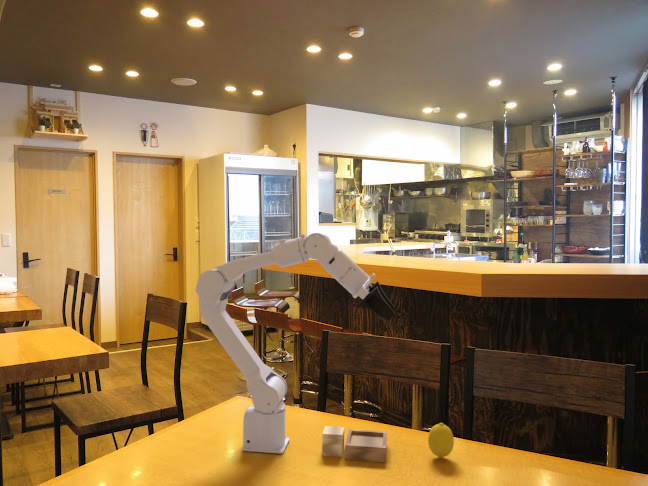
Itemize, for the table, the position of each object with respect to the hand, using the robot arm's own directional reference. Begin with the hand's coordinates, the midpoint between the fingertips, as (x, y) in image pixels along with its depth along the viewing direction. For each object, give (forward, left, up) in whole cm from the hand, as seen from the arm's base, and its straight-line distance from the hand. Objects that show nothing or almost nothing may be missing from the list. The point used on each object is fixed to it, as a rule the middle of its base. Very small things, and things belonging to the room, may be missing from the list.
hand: (391, 314), depth 117 cm
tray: (-5, +1, -32) cm, 32 cm away
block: (-13, 0, -32) cm, 34 cm away
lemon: (+11, 0, -32) cm, 34 cm away
